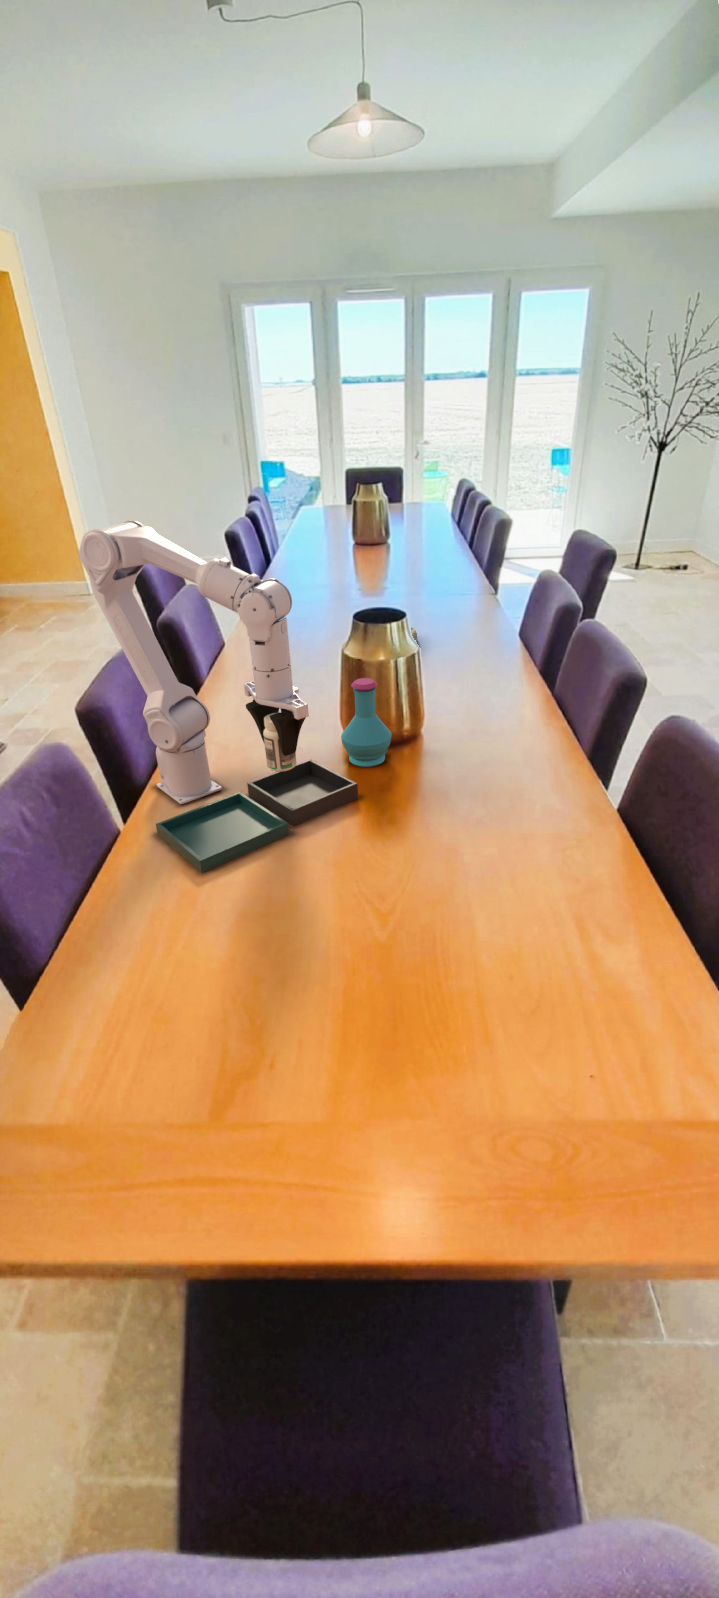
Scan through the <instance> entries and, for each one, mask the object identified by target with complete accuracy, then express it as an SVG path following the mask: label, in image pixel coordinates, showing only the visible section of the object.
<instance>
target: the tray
mask: <svg viewBox="0 0 719 1598" xmlns="http://www.w3.org/2000/svg"><path fill="white" fill-rule="evenodd" d="M289 827H290V826H289V823H288V822H286V821H285V820H283V819H282V818H280V817H278V816H277V815H275V814H274V813H272V812H271V811H269V810H268V809H266V808H265V807H263V806H262V805H260V804H259V803H257V802H255V801H254V800H252V799H251V798H249V796H248V795H246V794H245V793H242V792H241V791H237V792H235V793H233V794H230V795H227V796H225V797H222V798H220V799H217V800H214V801H212V802H209V803H207V804H204V805H201V806H199V807H195V808H193V809H190V810H189V811H185V812H183V813H181V814H178V815H176V816H173V817H171V818H168V819H165V820H163V821H160V822H157V823H155V828H156V832H157V836H158V837H160V838H161V839H162V840H163V841H165V842H166V843H167V845H169V846H170V847H172V848H173V849H174V850H175V851H176V852H177V853H178V854H179V855H181V856H182V857H183V858H184V859H185V860H187V861H188V862H189V863H190V864H191V865H193V866H194V867H195V868H196V869H197V870H198V871H199V872H201V873H204V872H206V871H209V870H211V869H214V868H215V867H218V866H220V865H222V864H224V863H227V862H229V861H232V860H234V859H236V858H238V857H240V856H243V855H245V854H247V853H250V852H252V851H254V850H257V849H259V848H261V847H264V846H266V845H267V844H270V843H272V842H274V841H277V840H280V839H282V838H284V837H287V836H289V835H290V829H289Z"/></svg>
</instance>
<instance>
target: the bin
mask: <svg viewBox="0 0 719 1598" xmlns="http://www.w3.org/2000/svg"><path fill="white" fill-rule="evenodd" d="M246 786H247V790H248V791H247V792H248V793H247V794H248V797H249V798H250V799H252V800H253V801H255V802H256V803H258V804H260V805H261V806H263V807H264V808H266V809H267V810H269V811H270V812H272V813H273V814H275V815H276V816H278V817H279V818H281V819H283V820H284V821H286V822H287V823H288V825H291V826H292V827H295V826H298V825H299V824H302V823H304V822H307V821H309V820H311V819H313V818H316V817H318V816H320V815H323V814H325V813H327V812H330V811H332V810H334V809H336V808H339V807H342V806H343V805H346V804H348V803H351V802H352V801H355V800H357V799H359V792H358V791H359V787H358V783H357V782H355V781H354V780H352V779H349V778H348V777H346V776H344V775H342V774H340V773H338V772H336V771H334V770H333V769H331V768H329V767H327V766H325V765H323V764H321V763H319V762H317V761H316V760H313V759H311V758H309V759H306V760H304V761H301V762H298V763H296V766H295V767H294V768H292V769H290V770H288V771H282V772H278V771H273V772H272V773H269V774H267V775H264V776H261V777H259V778H256V779H254V780H250V781H248V782H246Z"/></svg>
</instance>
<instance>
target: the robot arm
mask: <svg viewBox="0 0 719 1598" xmlns="http://www.w3.org/2000/svg"><path fill="white" fill-rule="evenodd" d="M77 556H78V558H79V561H80V562H81V564H82V566H83V568H84V569H85V571H86V573H87V575H88V577H89V582H90V587H91V591H92V593H93V596H94V598H95V599H96V602H97V603H98V605H99V607H100V609H101V611H102V613H103V615H104V616H105V619H106V621H107V622H108V624H109V627H110V628H111V630H112V632H113V634H114V635H115V638H116V639H117V642H118V643H119V645H120V647H121V649H122V651H123V653H124V655H125V657H126V659H127V661H128V663H129V665H130V666H131V668H132V670H133V672H134V674H135V676H136V677H137V679H138V682H139V683H140V685H141V687H142V689H143V691H144V692H145V694H146V697H147V698H146V701H145V704H144V708H143V711H142V715H143V716H142V717H143V718H144V720H145V722H146V725H147V732H148V735H149V738H150V740H151V741H152V743H153V744H154V745H155V747H156V749H155V757H156V762H157V767H158V772H159V777H160V782H158V783H156V787H157V788H158V789H160V790H161V791H162V792H163V793H165V794H166V795H168V796H169V797H170V798H172V799H173V800H174V801H175V802H177V803H178V804H179V805H185V804H187V803H189V802H193V801H195V800H197V799H200V798H203V797H205V796H209V795H211V794H214V793H216V792H219V791H221V790H222V789H223V788H222V786H221V785H220V784H218V783H217V782H215V781H214V780H212V777H211V770H210V765H209V758H208V752H207V745H206V740H205V737H206V729H207V728H208V727H209V725H210V723H211V715H210V711H209V709H208V707H207V706H206V705H205V703H204V702H203V701H201V699H199V697H198V696H197V695H196V693H195V691H194V689H193V688H192V687H190V686H188V685H186V684H183V683H181V682H179V680H178V678H177V676H176V674H175V673H174V671H173V668H172V667H171V665H170V662H169V660H168V659H167V656H166V655H165V653H164V650H163V649H162V647H161V645H160V643H159V640H158V639H157V637H156V636H155V634H154V631H153V629H152V627H151V626H150V624H149V621H148V620H147V618H146V616H145V614H144V612H143V610H142V608H141V606H140V604H139V602H138V600H137V598H136V596H135V594H134V591H133V589H134V586H135V583H136V580H137V577H138V576H139V574H140V573H141V572H142V570H143V569H144V567H146V565H151V566H154V567H156V568H159V569H161V570H163V571H166V572H168V573H170V574H172V575H175V576H177V577H180V578H181V579H185V580H187V581H188V582H192V583H193V584H196V586H197V590H198V592H199V594H200V595H201V596H202V597H204V598H206V599H209V600H210V601H213V602H214V603H216V604H218V605H220V606H222V607H224V608H227V609H228V610H230V611H232V612H234V613H236V614H238V617H239V619H240V620H241V622H242V623H243V624H244V626H245V628H246V632H247V637H248V641H249V649H250V657H251V667H252V673H253V674H252V675H253V681H249V682H246V683H243V689H244V695H245V696H246V697H249V698H250V697H252V701H250V702H247V703H246V704H245V709H246V710H247V711H248V713H249V714H250V715H251V717H252V719H253V720H254V722H255V724H256V726H257V729H258V731H259V734H260V737H261V739H262V742H263V745H265V743H264V736H263V731H264V729H265V725H264V717H265V716H266V715H269V714H272V713H276V714H273V715H270V719H271V721H272V722H273V724H274V726H275V728H276V731H277V734H278V737H279V742H280V747H281V751H282V753H283V755H285V756H287V755H290V754H292V753H297V747H298V742H299V736H300V733H301V729H302V727H303V724H304V722H305V720H306V718H308V717H309V705H308V703H307V702H304V701H303V700H302V699H301V697H300V696H299V695H298V694H299V692H300V689H299V688H298V687H297V686H294V685H293V684H294V683H293V674H292V663H291V652H290V651H291V650H290V640H289V630H288V629H289V628H288V619H287V617H286V616H287V615H288V614H289V613H290V612H291V609H292V606H293V597H292V594H291V592H290V590H289V589H288V587H287V586H286V585H285V584H284V583H282V582H281V581H280V580H279V579H277V578H271V577H270V578H267V579H264V580H262V579H261V578H260V576H259V575H258V574H256V573H251V574H250V573H248V572H246V571H244V570H242V569H241V568H238V567H236V566H233V565H232V560H230V559H228V558H227V557H223V558H212V559H210V560H208V561H205V560H204V559H202V558H200V557H198V556H196V555H195V554H193V553H191V552H190V551H187V550H186V549H184V548H182V547H181V546H179V545H177V544H175V543H174V542H172V541H170V540H169V539H166V538H165V537H163V536H161V535H160V534H158V533H157V532H156V530H155V528H153V527H151V526H148V525H144V524H143V523H142V522H139V521H137V520H134V519H129V520H127V521H123V522H121V523H118V524H114V525H113V524H112V525H109V526H105V527H100V528H92V529H89V530H87V531H86V532H85V533H84V534H83V536H82V538H81V541H80V546H79V550H78V553H77Z"/></svg>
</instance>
